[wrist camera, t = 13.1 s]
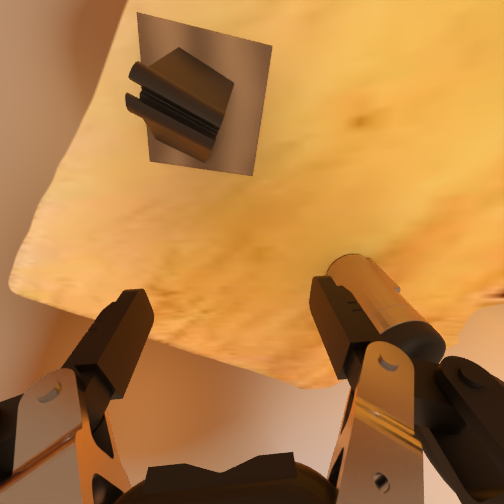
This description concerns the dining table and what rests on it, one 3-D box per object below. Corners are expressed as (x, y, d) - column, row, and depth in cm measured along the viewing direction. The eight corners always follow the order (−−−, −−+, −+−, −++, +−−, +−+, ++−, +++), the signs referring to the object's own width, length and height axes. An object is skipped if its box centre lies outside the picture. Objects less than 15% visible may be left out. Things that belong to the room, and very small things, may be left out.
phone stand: (179, 47, 21) (143, -13, 11) (234, 83, 23) (246, 61, 13) (156, 139, 25) (114, 156, 15) (205, 163, 27) (196, 192, 17)
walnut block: (264, 59, 27) (272, 46, 22) (248, 167, 33) (252, 176, 28) (155, 33, 25) (136, 12, 20) (162, 154, 31) (149, 161, 26)
